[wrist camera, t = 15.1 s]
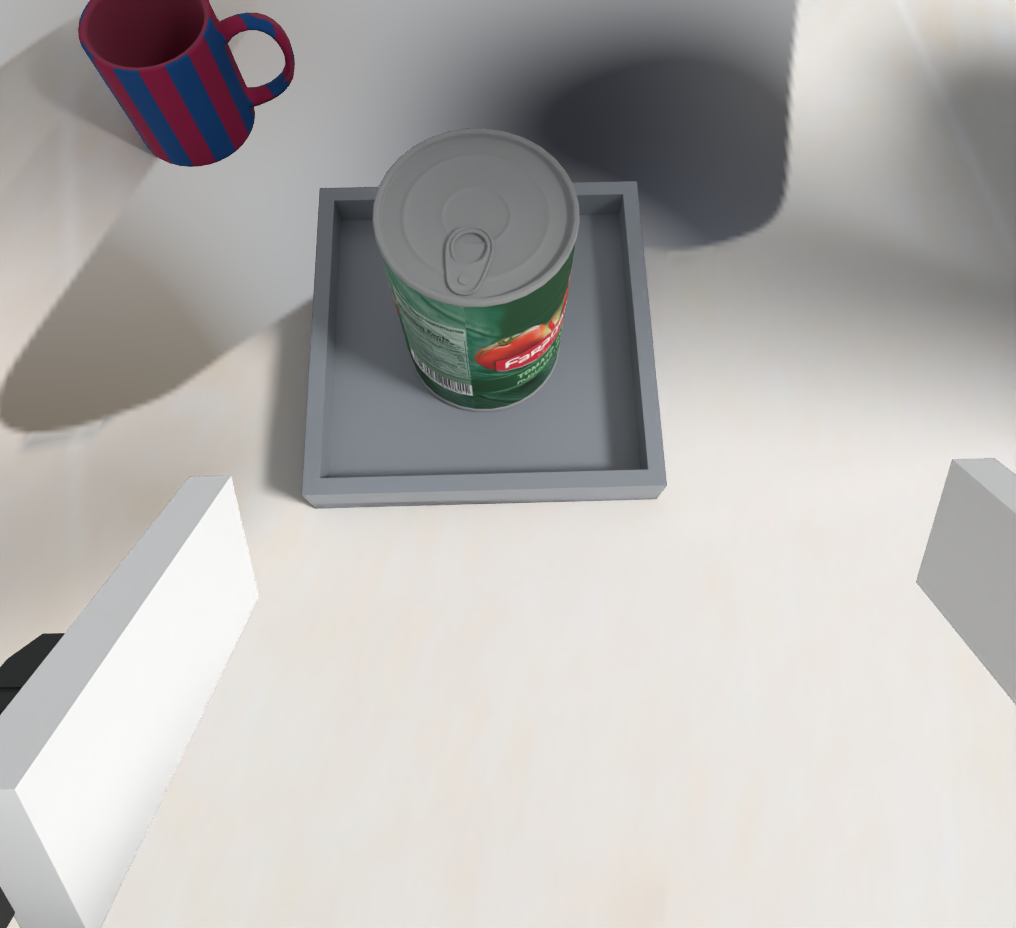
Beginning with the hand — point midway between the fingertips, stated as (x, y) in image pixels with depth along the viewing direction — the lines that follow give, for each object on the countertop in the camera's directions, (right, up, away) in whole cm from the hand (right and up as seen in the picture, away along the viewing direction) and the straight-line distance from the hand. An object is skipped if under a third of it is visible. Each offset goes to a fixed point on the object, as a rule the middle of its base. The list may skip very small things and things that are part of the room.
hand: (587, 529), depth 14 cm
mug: (-18, +22, +30) cm, 41 cm away
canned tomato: (-3, +7, +25) cm, 26 cm away
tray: (-3, +7, +25) cm, 26 cm away
